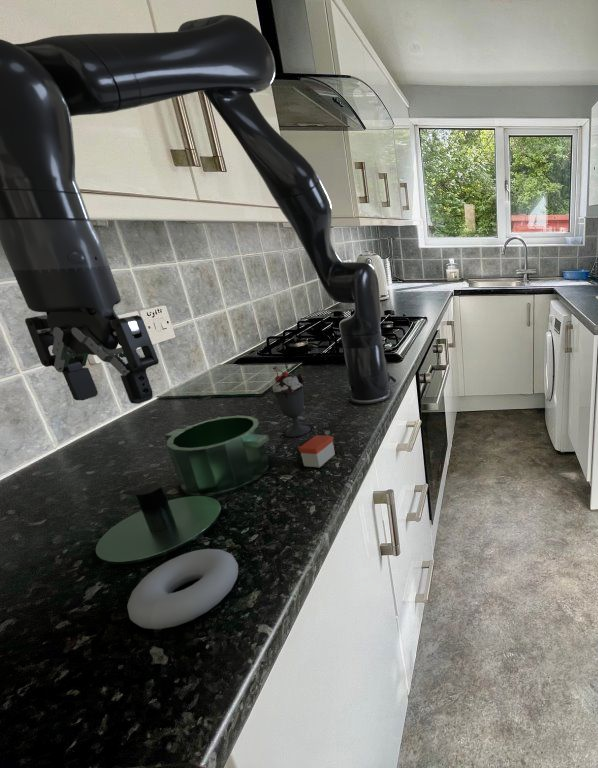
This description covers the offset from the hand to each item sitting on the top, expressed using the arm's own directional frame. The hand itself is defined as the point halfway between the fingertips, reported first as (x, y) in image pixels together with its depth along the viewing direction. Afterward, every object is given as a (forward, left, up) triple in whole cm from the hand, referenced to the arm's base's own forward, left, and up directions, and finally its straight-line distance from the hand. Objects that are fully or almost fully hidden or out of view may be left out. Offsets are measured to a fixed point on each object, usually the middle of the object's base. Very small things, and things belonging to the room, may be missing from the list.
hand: (114, 399), depth 51 cm
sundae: (-31, -2, -20) cm, 37 cm away
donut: (+9, +14, -20) cm, 26 cm away
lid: (0, 0, -20) cm, 20 cm away
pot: (-14, -3, -20) cm, 25 cm away
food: (-21, +10, -20) cm, 31 cm away
